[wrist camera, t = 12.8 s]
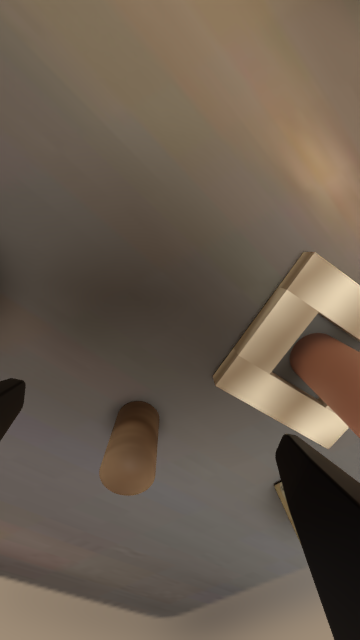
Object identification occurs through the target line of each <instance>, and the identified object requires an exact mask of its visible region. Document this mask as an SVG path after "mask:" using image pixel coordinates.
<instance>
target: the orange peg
mask: <svg viewBox="0 0 360 640" xmlns="http://www.w3.org/2000/svg"><path fill="white" fill-rule="evenodd" d="M290 365H291V367H292V369H293V371H294V372H295V373H296V374H297V375H298V376H299V377H300V378H301V379H302V380H303V381H304V382H305V383H306V384H307V385H308V386H309V387H310V388H311V389H312V390H313V391H314V392H315V393H316V394H317V395H318V396H319V397H320V398H321V399H322V400H323V401H324V402H325V403H326V404H327V405H328V406H329V407H330V408H331V409H332V410H333V411H334V412H335V413H336V414H337V415H338V416H339V417H340V418H341V419H342V421H343V422H344V423H345V424H346V425H347V426H348V427H349V428H350V429H351V430H352V431H353V432H354V433H355V434H356V435H357V436H358V437H359V438H360V352H358V351H356V350H355V349H353V348H351V347H349V346H347V345H345V344H344V343H342V342H340V341H338V340H336V339H335V338H333V337H331V336H329V335H327V334H324V333H313V334H309V335H307V336H305V337H303V338H301V339H300V340H299V341H298V342H297V343H296V344H295V345H294V347H293V349H292V351H291V354H290Z"/></svg>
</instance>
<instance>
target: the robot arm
mask: <svg viewBox="0 0 360 640" xmlns="http://www.w3.org/2000/svg"><path fill="white" fill-rule="evenodd" d="M24 395H25V382H24V381H23V380H18V379H13V378H10V379H7V380H3V381H0V441H1V439H2V438H3V436H4V435H5V433H6V432H7V430H8V429H9V427H10V426H11V424H12V423H13V421H14V420H15V418H16V417H17V415H18V414H19V412H20V411H21V409H22V407H23V404H24ZM276 462H277V466H278V470H279V474H280V478H281V482H282V486H283V490H284V493H285V497H286V501H287V504H288V508H289V511H290V514H291V517H292V520H293V522H294V525H295V528H296V531H297V534H298V537H299V540H300V543H301V545H302V548H303V551H304V554H305V557H306V560H307V563H308V565H309V568H310V571H311V574H312V577H313V580H314V583H315V585H316V588H317V591H318V594H319V597H320V600H321V603H322V606H323V608H324V611H325V614H326V617H327V620H328V623H329V625H330V628H331V631H332V634H333V637H334V640H360V483H359V482H357V481H356V480H355V479H353V478H352V477H351V476H349V475H348V474H347V473H345V472H344V471H343V470H341V469H340V468H339V467H338V466H336V465H335V464H334V463H332V462H331V461H330V460H328V459H327V458H326V457H324V456H323V455H322V454H320V453H319V452H318V451H316V450H315V449H314V448H312V447H311V446H310V445H308V444H307V443H306V442H304V441H303V440H302V439H300V438H299V437H298V436H296V435H291V434H284V435H283V437H282V439H281V441H280V444H279V446H278V448H277V450H276Z"/></svg>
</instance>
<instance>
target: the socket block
mask: <svg viewBox="0 0 360 640" xmlns="http://www.w3.org/2000/svg"><path fill="white" fill-rule="evenodd" d="M313 333H324V334H327V335H329V336H331V337H333V338H335V339H336V340H338V341H340V342H342V343H344V344H345V345H347V346H349V347H351V348H353V349H355V350H356V351H358V352H360V285H359V284H357V283H356V282H355V281H353V280H352V279H351V278H349V277H348V276H347V275H345V274H344V273H343V272H341V271H340V270H338V269H337V268H336V267H334V266H333V265H332V264H330V263H329V262H328V261H326V260H325V259H324V258H322V257H321V256H320V255H318V254H317V253H316V252H303V254H302V255H301V256H300V258H299V259H298V261H297V262H296V263H295V265H294V266H293V267H292V269H291V270H290V271H289V273H288V274H287V276H286V277H285V278H284V280H283V281H282V282H281V284H280V285H279V286H278V288H277V289H276V291H275V292H274V293H273V295H272V296H271V297H270V299H269V300H268V302H267V303H266V304H265V306H264V307H263V308H262V310H261V311H260V312H259V314H258V315H257V317H256V318H255V319H254V321H253V322H252V323H251V325H250V326H249V327H248V329H247V330H246V332H245V333H244V334H243V336H242V337H241V338H240V340H239V341H238V342H237V344H236V345H235V347H234V348H233V349H232V351H231V352H230V353H229V355H228V356H227V357H226V359H225V360H224V362H223V363H222V364H221V366H220V367H219V368H218V370H217V371H216V372H215V374H214V375H213V379H214V382H215V386H217V387H219V388H221V389H222V390H224V391H226V392H228V393H229V394H231V395H233V396H235V397H236V398H238V399H240V400H242V401H244V402H245V403H247V404H249V405H251V406H252V407H254V408H256V409H258V410H260V411H261V412H263V413H265V414H267V415H268V416H270V417H272V418H274V419H276V420H277V421H279V422H281V423H283V424H284V425H286V426H288V427H290V428H291V429H293V430H295V431H297V432H299V433H300V434H302V435H304V436H306V437H307V438H309V439H311V440H313V441H315V442H316V443H318V444H320V445H322V446H323V447H325V448H327V449H329V448H330V447H331V446H332V445H333V444H334V443H335V442H336V441H337V440H338V439H339V438H340V436H341V435H342V434H343V433H344V432H345V431H346V430H347V429H348V428H349V427H348V426H347V425H346V424H345V423H344V422H343V421H342V419H341V418H340V417H339V416H338V415H337V414H336V413H335V412H334V411H333V410H332V409H331V408H330V407H329V406H328V405H327V404H326V403H325V402H324V401H323V400H322V399H321V398H320V397H319V396H318V395H317V394H316V393H315V392H314V391H313V390H312V389H311V388H310V387H309V386H308V385H307V384H306V383H305V382H304V381H303V380H302V379H301V378H300V377H299V376H298V375H297V374H296V373H295V372H294V371H293V369H292V367H291V365H290V354H291V351H292V349H293V347H294V345H295V344H296V343H297V342H298V341H299V340H300V339H301V338H303V337H305V336H307V335H309V334H313Z"/></svg>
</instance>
